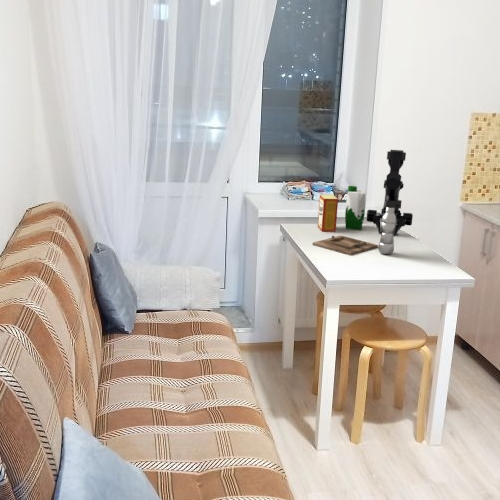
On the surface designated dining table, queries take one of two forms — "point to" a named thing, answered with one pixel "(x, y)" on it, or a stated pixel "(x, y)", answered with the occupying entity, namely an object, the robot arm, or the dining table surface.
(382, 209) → the robot arm
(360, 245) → the walnut bottle stand
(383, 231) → the plastic bottle
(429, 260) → the dining table surface
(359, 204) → the milk carton
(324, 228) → the baking soda box
